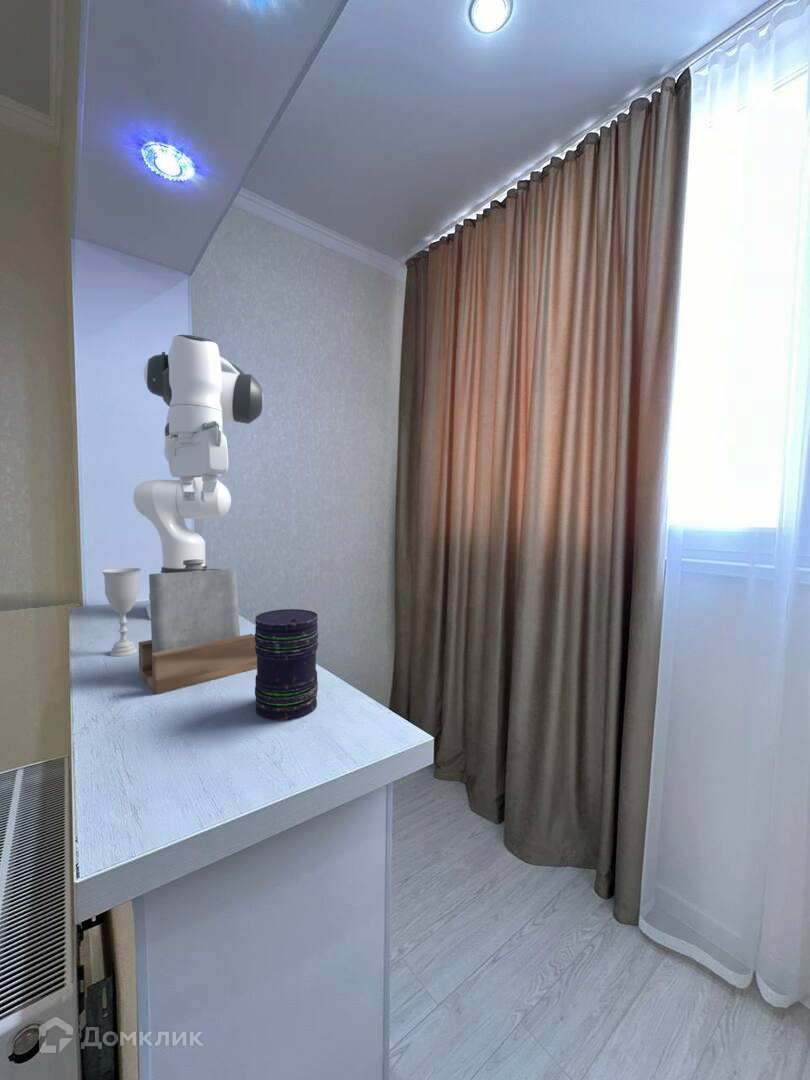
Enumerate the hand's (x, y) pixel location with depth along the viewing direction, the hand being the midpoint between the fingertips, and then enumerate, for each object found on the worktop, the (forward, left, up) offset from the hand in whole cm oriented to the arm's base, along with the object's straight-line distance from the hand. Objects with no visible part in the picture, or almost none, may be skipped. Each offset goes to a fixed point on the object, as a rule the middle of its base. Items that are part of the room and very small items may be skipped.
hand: (197, 501), depth 81 cm
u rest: (0, 0, -33) cm, 33 cm away
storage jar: (+24, +5, -33) cm, 41 cm away
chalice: (-22, -8, -33) cm, 41 cm away
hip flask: (0, 0, -31) cm, 31 cm away
